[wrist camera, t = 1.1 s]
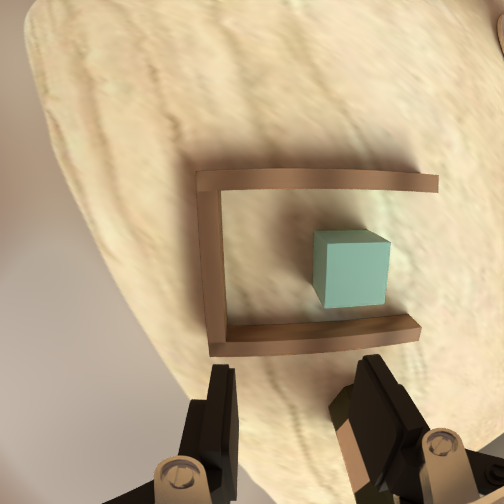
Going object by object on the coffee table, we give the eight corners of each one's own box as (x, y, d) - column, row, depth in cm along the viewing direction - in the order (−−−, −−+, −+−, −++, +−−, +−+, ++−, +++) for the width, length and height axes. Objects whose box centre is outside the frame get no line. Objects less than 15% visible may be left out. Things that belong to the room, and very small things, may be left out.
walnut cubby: (421, 173, 25) (438, 175, 22) (406, 326, 29) (418, 340, 26) (201, 171, 25) (195, 171, 22) (213, 339, 29) (209, 356, 26)
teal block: (367, 229, 26) (390, 242, 22) (363, 282, 28) (384, 304, 23) (313, 230, 26) (327, 243, 22) (312, 285, 28) (324, 308, 23)
